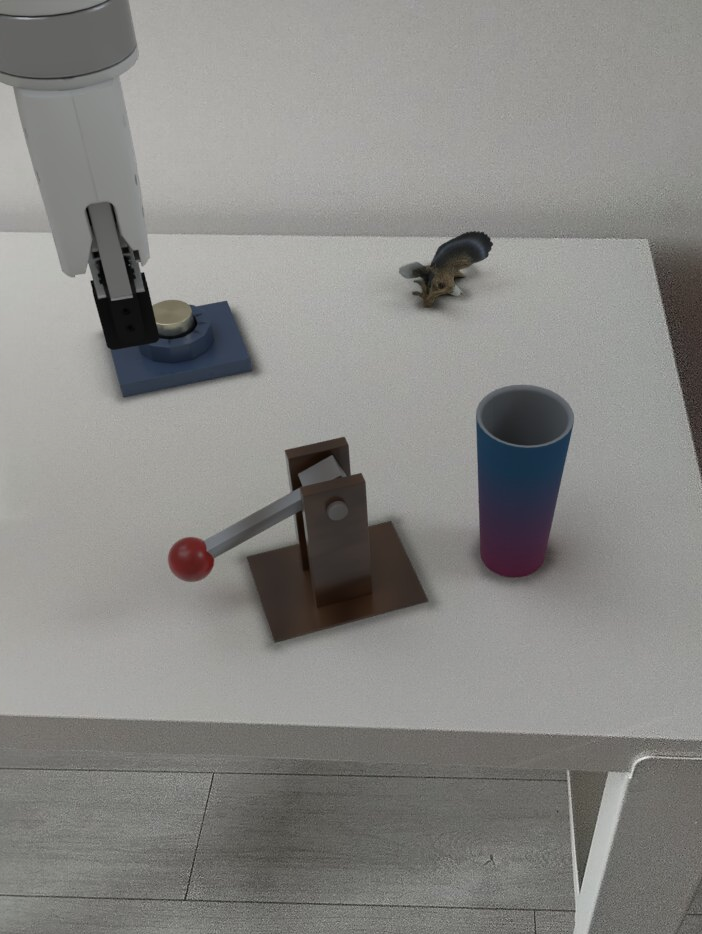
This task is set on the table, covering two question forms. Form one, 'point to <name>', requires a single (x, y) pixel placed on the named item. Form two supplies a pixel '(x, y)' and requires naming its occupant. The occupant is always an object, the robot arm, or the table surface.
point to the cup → (519, 474)
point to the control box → (185, 354)
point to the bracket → (332, 555)
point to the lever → (244, 527)
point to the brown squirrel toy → (448, 265)
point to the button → (173, 319)
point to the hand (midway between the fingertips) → (132, 338)
